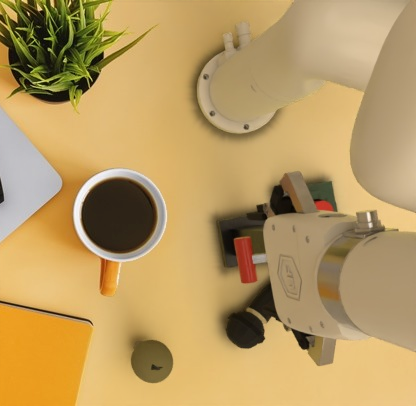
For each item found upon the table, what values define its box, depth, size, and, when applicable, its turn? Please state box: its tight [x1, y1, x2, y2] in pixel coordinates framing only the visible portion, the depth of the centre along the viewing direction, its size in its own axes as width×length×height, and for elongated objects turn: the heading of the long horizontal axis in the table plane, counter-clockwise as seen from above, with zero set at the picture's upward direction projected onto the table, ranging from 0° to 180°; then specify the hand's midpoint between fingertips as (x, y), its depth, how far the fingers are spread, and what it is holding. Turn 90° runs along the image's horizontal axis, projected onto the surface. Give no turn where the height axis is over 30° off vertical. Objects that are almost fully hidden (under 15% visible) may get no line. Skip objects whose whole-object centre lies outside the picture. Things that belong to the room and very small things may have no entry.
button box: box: [306, 180, 339, 212], centre depth 81 cm, size 8×8×4 cm
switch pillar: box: [216, 215, 266, 268], centre depth 69 cm, size 7×7×26 cm
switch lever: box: [234, 237, 268, 284], centre depth 60 cm, size 5×11×2 cm, turn 100°
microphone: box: [225, 281, 274, 350], centre depth 80 cm, size 6×6×20 cm
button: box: [314, 201, 334, 212], centre depth 78 cm, size 3×3×2 cm
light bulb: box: [130, 339, 174, 384], centre depth 75 cm, size 6×6×10 cm
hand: (267, 260), depth 57 cm, fingers open, 9 cm apart
